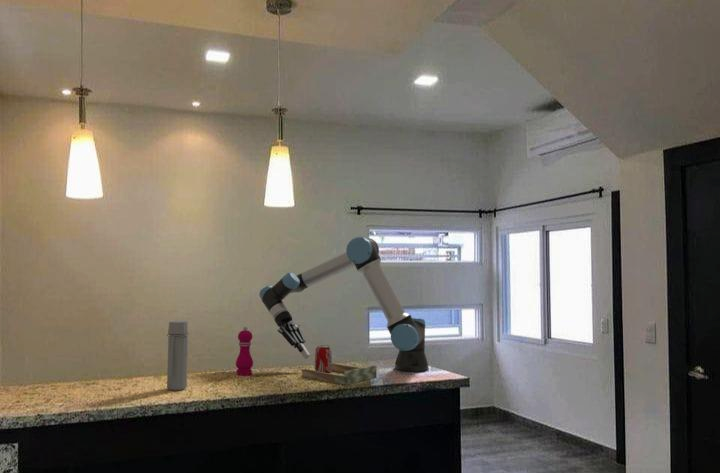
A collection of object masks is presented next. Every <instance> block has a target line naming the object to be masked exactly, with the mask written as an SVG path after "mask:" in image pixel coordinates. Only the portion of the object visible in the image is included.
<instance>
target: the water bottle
mask: <svg viewBox="0 0 720 473" xmlns="http://www.w3.org/2000/svg"><path fill="white" fill-rule="evenodd" d="M188 325H189V324H188V320H171V321H169V322H168V329H167V334H166V337H168V341H167V350H168V351H167V371H166V372H167V377H166V388H167V389H168V390H169V391H174V392H175V391H176V392H178V391H183V390H186V389H187V387H188V361H189V359H188V358H189V356H188V353H189V352H188V351H189V335H190V333H189V326H188Z"/></svg>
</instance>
